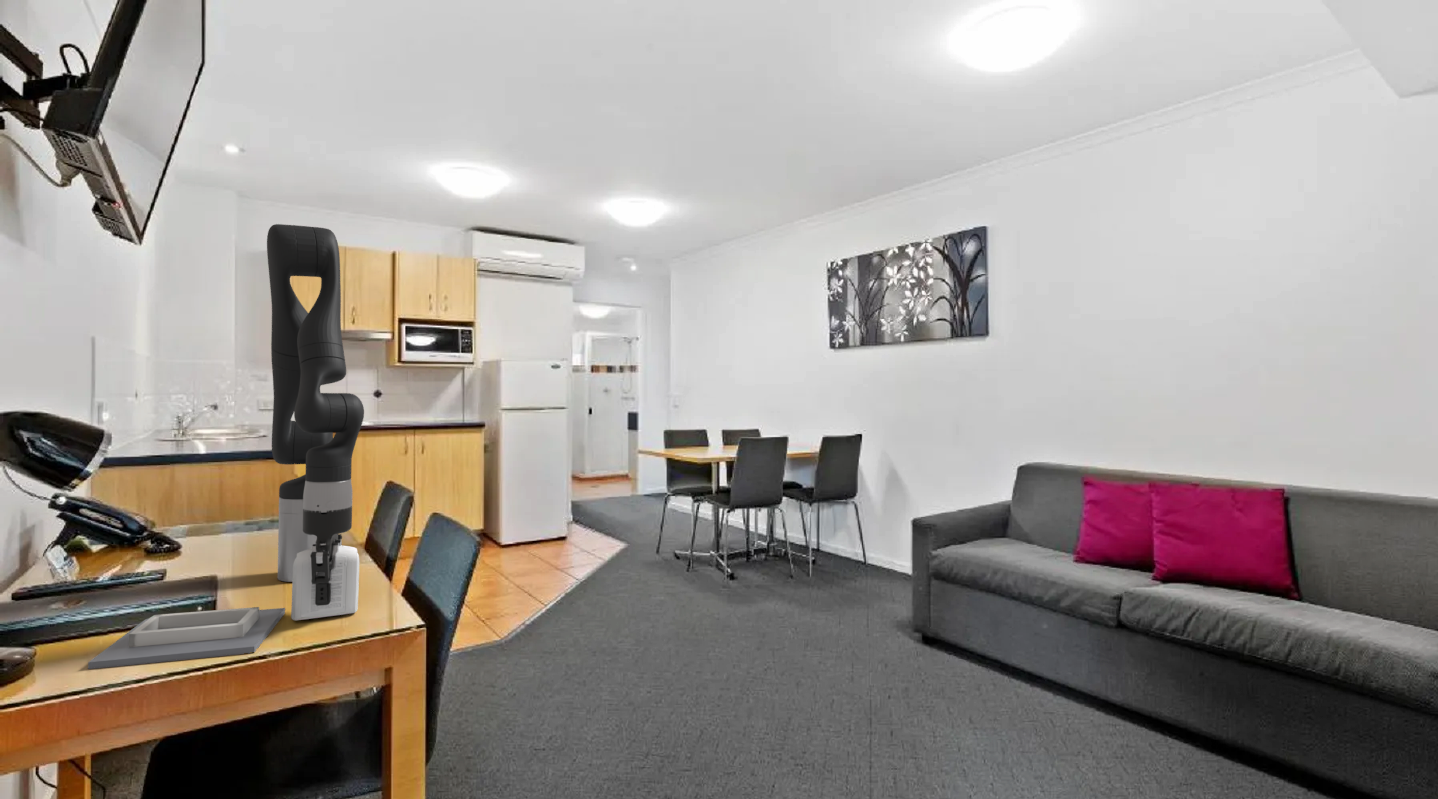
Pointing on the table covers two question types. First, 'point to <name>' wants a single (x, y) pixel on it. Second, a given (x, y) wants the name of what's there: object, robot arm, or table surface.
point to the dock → (191, 636)
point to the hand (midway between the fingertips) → (326, 599)
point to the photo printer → (341, 586)
